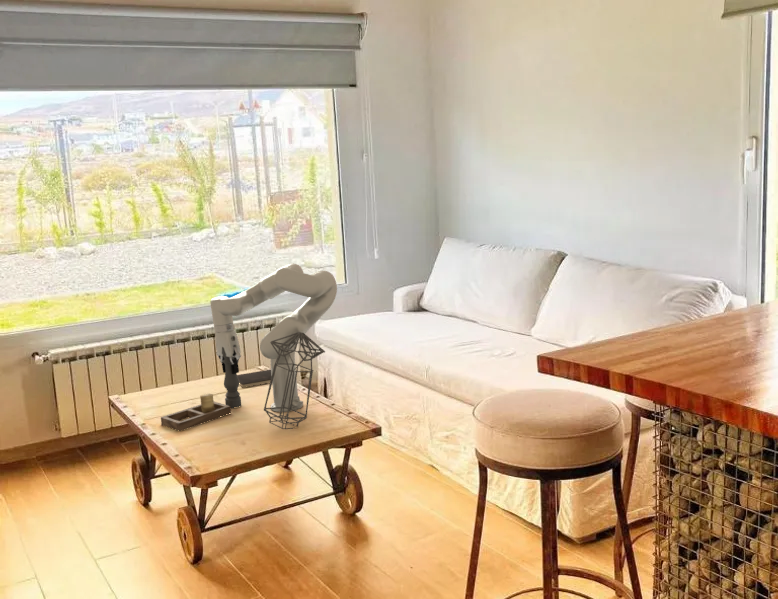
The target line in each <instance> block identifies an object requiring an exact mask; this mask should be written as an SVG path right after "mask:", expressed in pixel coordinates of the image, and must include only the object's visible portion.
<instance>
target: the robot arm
mask: <svg viewBox="0 0 778 599" xmlns="http://www.w3.org/2000/svg"><path fill="white" fill-rule="evenodd" d="M337 287H338V284H337V282H336V278H335V276H334V275H333V274H332V273H331V271H328V270H318V271H316V272H314V273H312V274H309V273H304V269H303V268H302V267H301V266H300V265H299V264H297V263H289V264H288V263H287V264H286V265H283V266H282V267H279V268H278V269H277V270H275V271H273V272H272V273H270V274H268V275H266V276H264V277H263V278H260V280H259V282H257V284H255V285H253V286H251V287H249V288H247V289H244V291H242V292H241V293H238V294H236V295H234V296H231V297H229V296H225V295H222V296H221V295H219V296H216V297H213V298H211V300H210V301H209V304H210V308H211V309H210V310H211V314H212V316H211V317H212V322H213V326H214V327H213V328H214V338H215V339H214V341H215V348H216V349H215V350H216V353H215V354H216V356H217V357H218V358H219V361H220V363H221V367H222V372H223V373H224V374H225V372H226V370H225V364H224V363H223V360H224V359H225V358H224V357H223V355H222V347H224V350H225V353H226V356H227V357H229V358H230V361H231V372H232V374H236V373H237V374H239V372H240V368H239V360H240V358H241V357H242V355H241V352H242V351H241V348H240V342H239V339H238V335H237V334H238V333H237V332H236V330H235V327H234V320H233V317H237V316H241V315H243V314H245V313H246V312H248V311H250V310H252V309H254V308H255V307H257V306H259V305H261V304H262V303H264V302H267V301H268V300H272V299H274V298H276V297H278V296H279V295H281V294H283V293H285V292H288V293H290V294H291V293H293V294H295V295H300V296H303V297H305V298H307V299H306V300H305V301H304V302H303V303H302V304H301V305H300V306H299V307H298V308H297V309H296V310H294V311H293V312H291V313H289V314H287V315H286V316H285V317H284V318H282V319H281V320H280V321H279V322H277V323H276V324H275V325H274V326H273V327H272V329H270V330H269V331H268V333H267V334H265V335H264V337H263V338H262V339H261V341H260V344H259V350H260V352H261V354H262V355H263V357H265V358H266V359H268V360H269V359H270V370H271V375H272V372H273V368H274V364H275V362H276V360H277V358H279V357H278V354H277V352H276V351H275V349H274V348H273V346H272V345H271V343H270V342H271V341H273V340H276V339H279V338H283V337H286V336H289V335H292V334H294V333H297V332H302V333H304V334H305V335H306V333H308V332H309V330H310V329H311V328H312V327H313V326H314V325H315V324H316V323H317V322H318V321H319V320H320V319H321V317H323V315H324V314H326V313H327V311H328V310H330V308H331V306H333V303H334V302H335V299H336V296H337V292H338V288H337ZM293 336H294V335H293ZM293 336H290V337H287V338H284V339H281V340H278V341H275V342H278V343H284V342H285V341H287V340H288V339H290V338H291V337H293ZM297 338H298V336H297ZM297 338H296V339H295V340H294V341H293V342H296V341H297ZM291 340H292V339H291ZM291 340H290V341H291ZM290 341H289V342H287V343H286V344H289V343H290ZM275 344H276V343H275ZM293 344H294V343H293ZM293 344H291V346H292V345H293ZM273 345H274V344H273ZM277 345H279V346H281V344H277ZM274 346H275V345H274ZM291 346H289V348H290V347H291ZM285 347H286V346H283V348H285ZM294 347H295V345H294V346H293V347H292V348H291V350H294ZM275 348H276V349H277V351H278V352H279V349H278V348H277V347H276V346H275ZM281 349H282V348H281ZM286 349H288V347H287V348H286ZM285 351H287V350H285ZM288 352H291V351H288ZM288 352H284V355H285V354H287V353H288ZM234 353H235V354H234ZM280 353H281V350H280V352H279V354H280ZM233 354H234V356H233ZM282 355H283V351H282ZM290 356H291V358H290ZM290 356H289V354H288V355H286V359H287V362H288V365H289V368H290V370H291V369H292V365H293V363H294V364H296V352H295V351H294V352H292V353H290ZM233 357H234V359H233ZM291 359H292V360H291ZM292 361H293V363H292ZM276 363H277V362H276ZM278 364H279V365H278V366H281V367H283V368H286V369H288V366H287V363H286V360H285V357H284V356H280V359H279V361H278ZM278 366H277V367H276V371H275V375H274V378H273V382H272V386H271V387H272V396H273V402H272V403H271V405H270V407H269V408H273V407H281V405H282V400H283V395H284V390H285V385H286V380H287V375H288V370H289V369H288V370H286V369H283V368H281V367H278ZM296 367H297V366H295V365H294V367H293V370H294V369H295V368H296ZM296 369H297V368H296ZM296 369H295V370H294V379H293V386H292V393H293V387H294V381H295V375H296V372H295V371H296ZM290 374H291V372H289V377H288V383H289V378H290ZM292 375H293V372H292ZM297 379H298V378H296V384H295V390H294V396H293V402H292V407H291V409H293V410H296V411H298V410H300V409H301V408H302V407H303V406H304V401H302V400H300V395H299V392H298V390H299V389H298V380H297ZM291 382H292V376H291V380H290V385H289V389H288V393H287V398H286V402H285V406H284V407H287V408H288V404H289V397H290V390H291ZM288 383H287V387H288ZM286 391H287V388H286ZM292 393H291V399H292ZM285 396H286V393H285ZM284 400H285V398H284ZM283 404H284V403H283ZM290 405H291V401H290ZM270 410H271V411H274V412H277V413H280V410H281V408H280V409H270ZM287 411H288V409H285V408H284V413H287ZM290 412H293V411H292V410H290ZM282 413H283V408H282Z"/></svg>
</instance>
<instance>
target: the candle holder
mask: <svg viewBox="0 0 778 599" xmlns="http://www.w3.org/2000/svg"><path fill="white" fill-rule="evenodd" d="M234 354H235V353H234ZM234 354H233V356H234ZM222 355H223V357H224V358H225V359H224V360H223V363H224V364H225V370H226V372H225V373H224V379H223V380H224V381H223V386H224V388H225V389H226V392H225V397H224V402H225V403H224V405H228V406H231V409H235V408H234V407H238V408H240V407H242V397H241V396H240V392H239V391H238V389H239V387H240V384H239V379H238V376H237V375H238V373H236V374H232V372H231V361H230V358H229V357H227V356H226V353H225V350H224V347H222ZM233 359H234V357H233ZM239 406H240V407H239Z"/></svg>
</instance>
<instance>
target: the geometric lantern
mask: <svg viewBox="0 0 778 599" xmlns="http://www.w3.org/2000/svg"><path fill="white" fill-rule="evenodd" d="M293 335H294V336H293ZM290 336H293V337H291V338H290V339H288V340H287V341H285V342H284V343H278V342H275V341H278V340H281V339H284V338H287V337H290ZM297 336H298V338H297ZM296 338H297V341H296V342H293V341H294V340H295V339H296ZM291 339H292V340H291ZM290 340H291V341H290ZM289 341H290V343H289V344H286V343H287V342H289ZM270 343H271V345H272V346H273V348H274V349H275V351H276V352H277V354H278V357H279V358H277V360H276V362H277V363H276V362H275V364H274V368H273V372H272V376H271V381H270V383H269V385H268V389H267V390H268V391H267V395H266V398H265V399H266V400H265V404H264V408H263V411H264V412H265V413H266V415H267V416H268V418H269V421H268V423H269V424H271V425H273V426H276V427H277V428H279V429H282V430H291V429H293V428H294V427H287V425H288V424H290V425H291V424H293V425H292V426H294V425H295V424H296V427H297V426H298V427H299V424H300V423H301V422H303V421H305V420H306V419H307V418H308V409H309V401H310V394H311V386H312V380H313V373H314V370H313V359H315V358H317V357H318V356H320V355H322V354H325V353H326V351H325V350H324V349H323V348H322V347H321V346H319V345H318V344H317V343H316V342H315V341H314V340H312V339H311V338H310V337H309V336H308V335H307V334H306V333H305V334H304V333H302V332H297V333H294V334H292V335H289V336H286V337H283V338H279V339H276V340H273V341H271V342H270ZM275 343H276V344H275ZM293 343H294V344H293ZM273 344H274V345H275V346H276V347H277V348H278V349H279V352H280V350H281V353H280V354H279V352H278V351H277V349H276V348H275V346H274V345H273ZM277 344H281V346H279V345H277ZM291 344H293V345H292V346H291ZM298 344H299V350H297V347H298ZM294 345H295V347H294V350H291V348H292V347H293V346H294ZM313 345H314V346H313ZM283 346H286V347H285V348H283ZM289 346H291V347H290V348H289ZM287 347H288V349H286V348H287ZM301 347H302V349H303V350H301ZM314 347H316V348H314ZM281 348H282V349H281ZM306 348H307V350H308V351H307V350H306ZM285 350H287V351H285ZM282 351H283V355H282ZM288 351H291V352H288ZM294 351H295V353H298V355H299V357H300V358H301V359H302V360H300V362H299V363H298V364H297V363H295V364H294V363H293V361H292V363H293V365H292V369H291V370H290V368H289V365H288V362H287V359H286V355H288V354H289V356H290V353H292V352H294ZM312 351H313V352H312ZM284 352H288V353H287V354H285V355H284ZM302 353H303V354H304V355H305V356H304V357H303V355H302ZM280 356H284V357H285V360H286V363H287V366H288V369H289V370H288V369H286V368H283V367H281V366H278V365H279V364H278V361H279V359H280ZM307 357H309V358H307ZM290 358H291V356H290ZM291 360H292V359H291ZM307 361H310V368H308V367H306V366H303V365H301V364H302V363H303V362H307ZM294 365H295V366H296V368H295V369H296V371H295V372H296V375H295V381H294V387H293V393H292V386H293V379H294V370H295V369H294V370H293V367H294ZM277 366H278V367H281V368H283V369H286V370H288V375H287V380H286V385H285V390H284V395H283V400H282V405H281V407H273V408H271V407H267V404H268V401H269V398H270V397H269V396H270V393H271V389H272V387H273V386H272V382H273V378H274V375H275V371H276V367H277ZM299 367H300V368H304V369H306V370H305V371H304V370H303V371H301V370H299ZM308 370H309V371H308ZM289 372H291V374H290V378H289V383H288V377H289ZM292 372H293V375H292ZM298 373H309V378H308V386H307V387H308V388H307V396H306V404H305V405H306V406H305V407H306V408H305V413H303V412H300V411H298V410H293V409H291V407H292V402H293V396H294V390H295V384H296V378H297V377H298ZM291 376H292V382H291V390H290V397H289V404H288V408H287V407H284V406H285V402H286V398H287V393H288V389H289V385H290V380H291ZM297 379H298V378H297ZM287 383H288V387H287ZM286 388H287V391H286ZM285 393H286V396H285ZM291 393H292V399H291ZM284 398H285V400H284ZM290 401H291V405H290ZM283 403H284V404H283ZM280 408H281V410H280V412H279V415H278V414H275V413H273V412H271V411H269V410H271V409H280ZM282 408H283V412H282ZM284 408H285V409H288V411H287V412H286V414H285V412H284ZM290 410H292V411H290ZM290 412H295V413H297V414H299V415H302V416H300V417H297V416H296V417H293V416H292V417H290V416H289V415H290ZM276 418H278V419H279V420H278V419H276ZM289 420H293V421H292V422H290V421H289ZM275 422H278V423H281V425H282V426H279V425H278V424H275Z"/></svg>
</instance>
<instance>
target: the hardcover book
mask: <svg viewBox="0 0 778 599" xmlns="http://www.w3.org/2000/svg"><path fill="white" fill-rule="evenodd" d="M237 376H238V379H239V383H240V384H239V386H240V387H241V388H242V387H244V388H247V387H246V386H250V387H253V385H256V386H261V385H265V384H264V383H267V384H270V381H271V376H272V375H271V369H266V370H260V371H254V372H247V373H240V374H237ZM260 384H261V385H260Z"/></svg>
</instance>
